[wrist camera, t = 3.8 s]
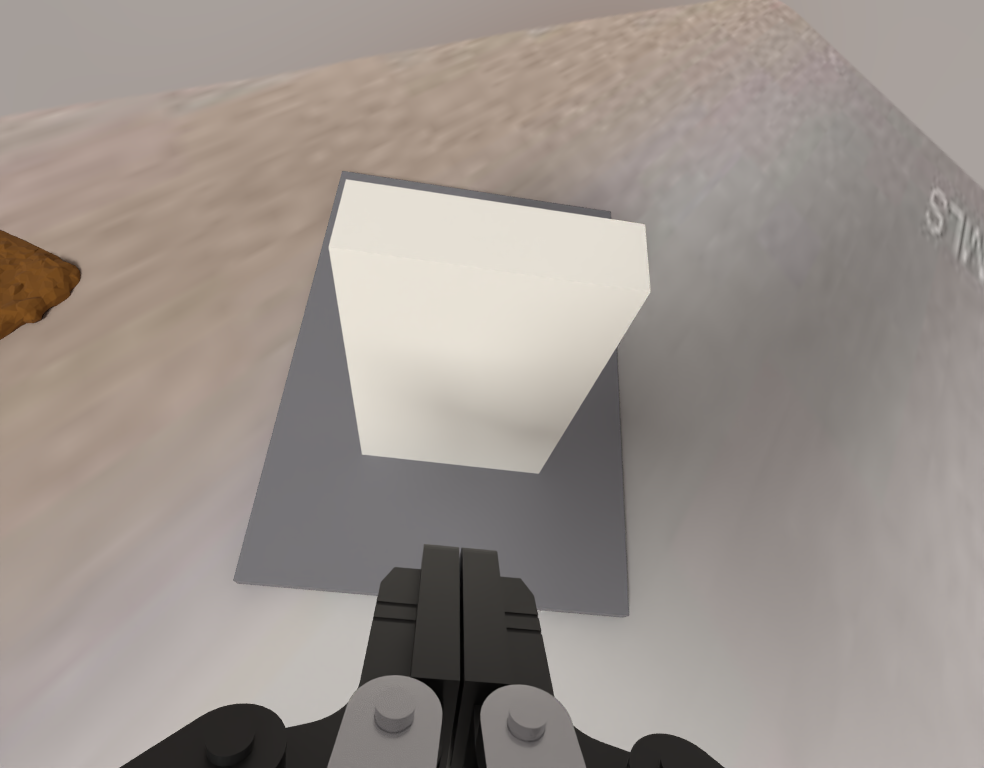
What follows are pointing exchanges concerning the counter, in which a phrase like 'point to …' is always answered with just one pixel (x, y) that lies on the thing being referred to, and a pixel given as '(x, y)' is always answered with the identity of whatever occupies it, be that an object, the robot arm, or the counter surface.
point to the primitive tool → (30, 282)
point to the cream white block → (477, 320)
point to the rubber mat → (430, 481)
